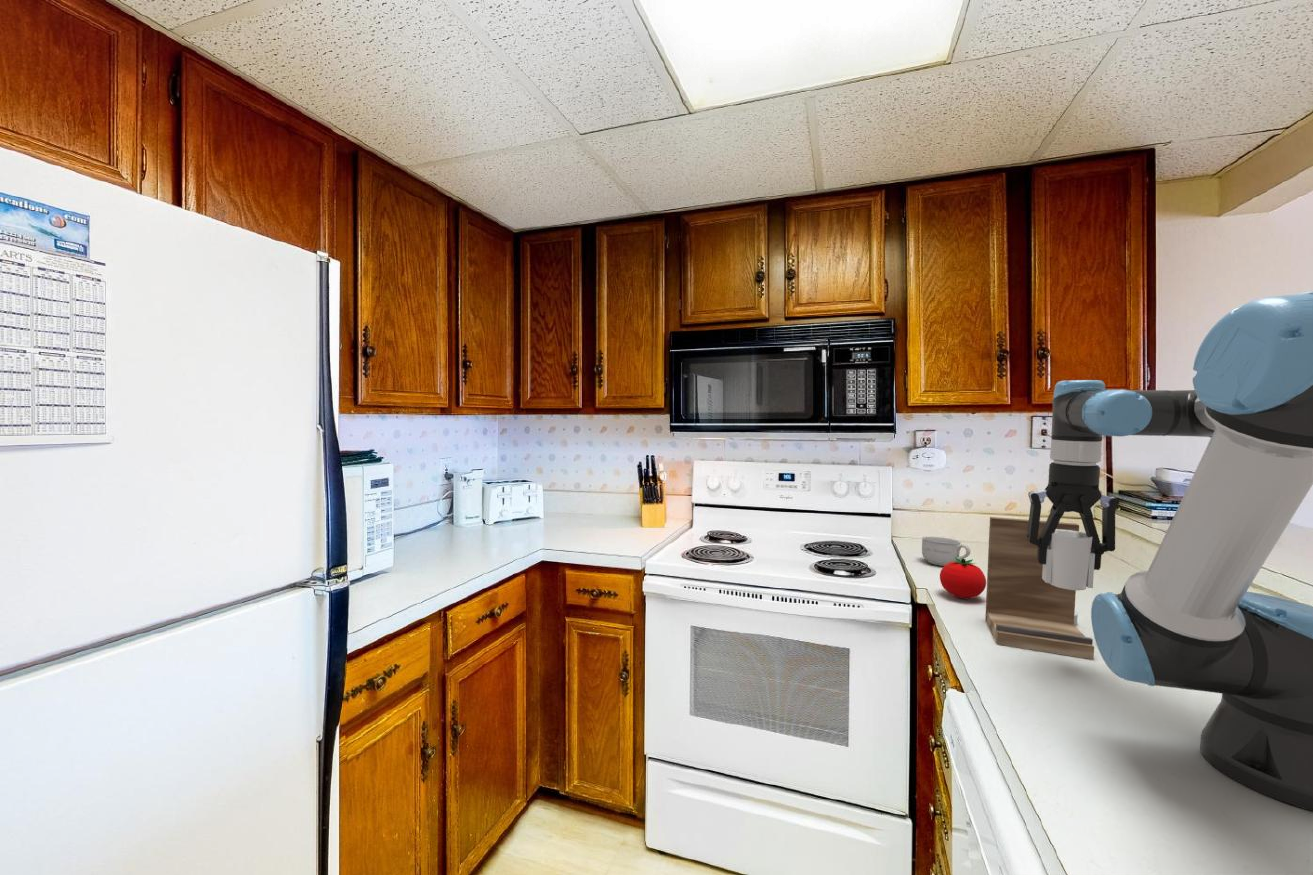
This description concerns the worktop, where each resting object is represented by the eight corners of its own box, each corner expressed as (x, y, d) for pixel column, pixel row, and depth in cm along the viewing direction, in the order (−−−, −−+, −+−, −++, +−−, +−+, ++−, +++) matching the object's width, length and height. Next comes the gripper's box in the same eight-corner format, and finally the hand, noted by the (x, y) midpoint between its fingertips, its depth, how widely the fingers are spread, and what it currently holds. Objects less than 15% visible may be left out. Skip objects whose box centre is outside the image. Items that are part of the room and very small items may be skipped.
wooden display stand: (1093, 659, 103) (1100, 537, 102) (997, 644, 109) (1002, 529, 108) (1070, 631, 116) (1076, 523, 115) (985, 619, 122) (989, 516, 121)
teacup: (913, 561, 170) (914, 536, 170) (936, 557, 175) (937, 533, 174) (953, 573, 157) (954, 546, 157) (977, 569, 162) (978, 543, 162)
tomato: (929, 592, 140) (931, 555, 140) (958, 588, 144) (960, 552, 143) (965, 606, 130) (966, 566, 130) (995, 601, 134) (996, 562, 134)
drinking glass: (1097, 588, 99) (1101, 536, 99) (1074, 593, 97) (1078, 539, 96) (1059, 577, 106) (1062, 528, 105) (1037, 581, 103) (1040, 530, 102)
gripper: (1129, 463, 99) (1121, 584, 101) (1011, 458, 107) (1004, 570, 108) (1147, 468, 92) (1137, 597, 94) (1019, 462, 100) (1012, 582, 102)
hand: (1066, 582), depth 101 cm, fingers closed on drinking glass, 6 cm apart
